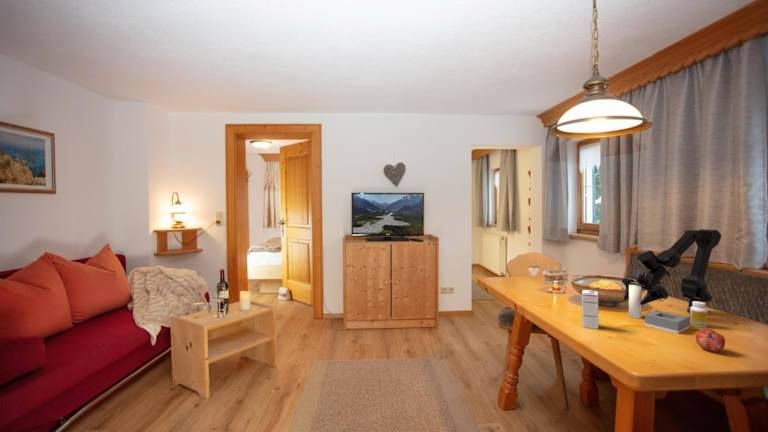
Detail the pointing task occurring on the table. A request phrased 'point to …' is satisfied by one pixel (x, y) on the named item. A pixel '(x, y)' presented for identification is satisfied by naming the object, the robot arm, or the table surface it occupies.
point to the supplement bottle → (698, 314)
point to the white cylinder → (635, 301)
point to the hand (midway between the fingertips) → (632, 301)
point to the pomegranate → (710, 340)
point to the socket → (667, 321)
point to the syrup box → (590, 309)
